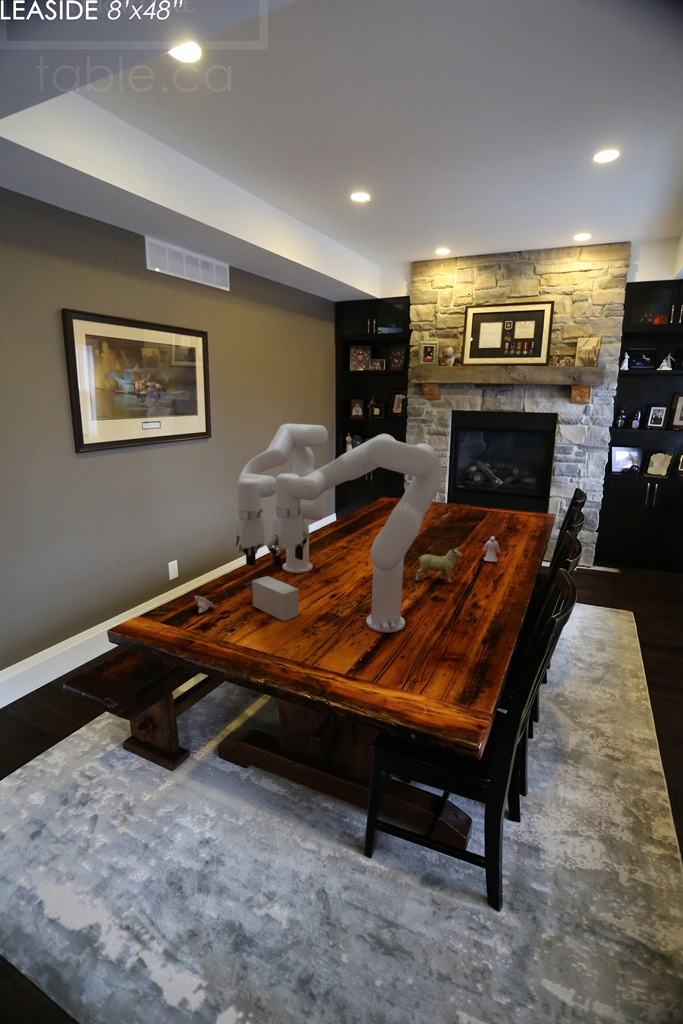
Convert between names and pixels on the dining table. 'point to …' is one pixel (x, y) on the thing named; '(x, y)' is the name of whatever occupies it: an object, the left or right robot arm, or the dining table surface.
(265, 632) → the dining table surface
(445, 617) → the dining table surface
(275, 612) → the cabinet
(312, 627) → the dining table surface
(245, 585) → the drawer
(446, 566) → the toy
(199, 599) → the seashell
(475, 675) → the dining table surface
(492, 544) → the figurine
